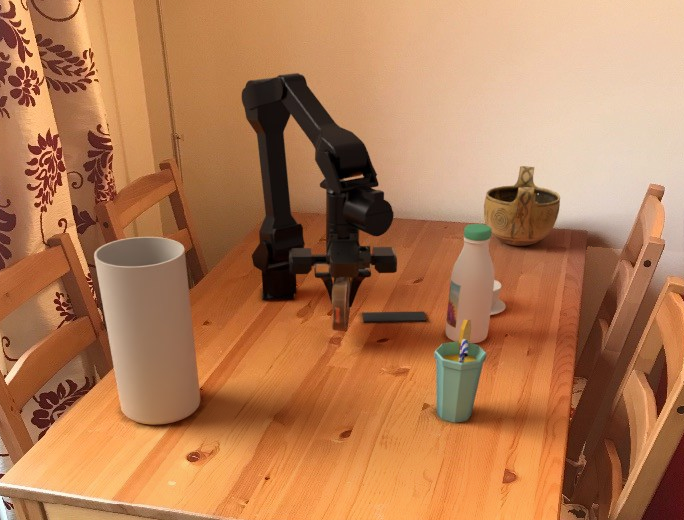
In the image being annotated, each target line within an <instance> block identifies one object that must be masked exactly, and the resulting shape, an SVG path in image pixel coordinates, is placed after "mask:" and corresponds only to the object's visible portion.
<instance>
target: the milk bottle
mask: <svg viewBox="0 0 684 520" xmlns="http://www.w3.org/2000/svg"><path fill="white" fill-rule="evenodd" d="M463 229H464V230H463V239H462V240H463V241H464V243H463V247H462V249H461V251H460V254H459V256H458V257H457V258H456V260H455V262H454V265H453V267H452V270H451V275H450V283H449V289H448V290H449V292H448V299H447V300H448V302H447V310H446V319H445V320H446V322H445V336H446V337H447V338H448V339H449V340H451V341H452V342H456V341H459V336H460V329H461V327H462V324H463V321H464V320H471V335H470V341H469V343H472V344H477V343H478V344H479V343H482V342H484V341H485V340H486V339H487V337H488V335H489V327H490V320H491V315H490V313H491V305H492V297H493V288H494V280H495V266H494V263H493V260H492V257H491V254H490V248H489V246H490V242H491V237H492V233H491V232H492V229H491V227H490V226H488V225H486V224H485V223H483V224H482V223H471V224H466V225H465V227H464V228H463Z"/></svg>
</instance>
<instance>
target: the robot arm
mask: <svg viewBox="0 0 684 520" xmlns="http://www.w3.org/2000/svg"><path fill="white" fill-rule="evenodd" d="M241 103H242V106H243V107H244V112H245V118H246V120H247V122H248V124H249V125H250V127H251V128H252V129H253V131H254V133H255V134H256V139H257V149H258V156H259V157H258V158H259V166H260V167H259V168H260V174H261V183H262V194H263V204H264V212H265V216H264V219H263V220H262V223H261V226H260V228H259V231H258V236H259V238H258V239H259V243H258V245H257V246H256V248H255V250H254V251H253V253H251V259H252V264H253V267H254V268H256V269H258V270H260V271H261V284H262V285H261V286H262V292H261V293H262V294H261V300H262V301H293V300H295V295H296V294H297V275H308V274H309V273H310V272H311V271H312V270H314V271H313V272H314V277H315V278H316V279H320V280H321V281H322V283H323V285H324V286H325V289H326V291H327V294H328V298H329V301H330V304H331V305H332V288H333V282H334V280H333V279H334V278H339V277H350V278H351V283H350V291H349V307H350V308H352V307H353V304H354V301H355V299H356V296H357V293H358V291H359V289H360V286H361V284H362V283H363V282H364V280H365V279H366V278H371V277H372V271H371V269H372V266H374V270H375V271H376V272H377V273H378V274H394V273H397V272H398V271H397V270H398V258H397V257H398V256H397V253H396V250H395V249H394V248H393V247H392V246H373V247H372V249H371V245H361V243H360V231H361V232H363V233H366V234H368V235H370V236H372V237H380V236H382V235H384V234H385V233H387V231H388V230H389V229H390V227H391V226H392V225H393V221H394V216H395V215H394V213H395V212H394V209H393V207H392V205H391V203H390V202H389V201H388V200H386V199H385V192H384V191H383V190H381V189H374V188H377V187H379V186H380V185H379V184H380V183H379V181H378V178H377V176H378V173H377V171H376V169H375V168H374V165H373V163H372V160H371V156H370V154H369V151H368V148H367V146H366V144H365V143H364V142H363V141H362V140H361V139H360V137H358V136H357V135H356V134H355V133H354V132H353V131H351V130H348V129H346V128H344V127H341V126H340V125H338V123H336V121H335V120H334V119H333V118H332V116H331V115H330V113H329V112H328V111H327V110H326V108H325V107H324V105H323V104H322V103H321V101H320V100H319V99H318V97H316V95H315V93H314V92H313V91H312V90H311V88H310V87H309V85H308V83H307V79H306V77H305V76H304V75H303V74H300V73H299V72H294V73H293V72H292V73H284V74H278V75H277V76H275V77H268V78H267V77H266V78H259V79H250V80H248V81H246V84H245V86H244V88H242V91H241ZM290 117H292V118H293V119H294V121H295V122H296V123H297V125H298V126H299V127H300V129H301V130H302V131H303V133H304V135H306V137H307V139H308V140H309V142H310V143H311V144H312V146H313V148H314V149H315V150H314V161H315V164H317V166H318V168H319V171H320V172H321V174H322V175H323V178H324V179H322V180H321V181H320V183H319V187H320V188H321V189H324V190H325V253H324V254H323V253H321V254H312V247H305V246H306V243H305V240H304V226H303V224H302V223H298V222H297V220H296V218H294V216H293V214H292V209H291V207H292V206H291V197H290V187H289V186H290V185H289V175H288V164H287V153H286V144H285V130H286V127H287V125H288V123H289V120H290ZM361 176H363V177H361ZM355 177H356V178H355ZM357 177H358V178H357ZM345 179H346V180H345ZM312 267H313V268H312Z"/></svg>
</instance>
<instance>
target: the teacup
mask: <svg viewBox="0 0 684 520" xmlns="http://www.w3.org/2000/svg"><path fill="white" fill-rule="evenodd" d="M502 287H503V286H502V283H501V282H500V281H498V280H496V279H494V288H493V297H492V305H491V313H490V316H491V315H497V314H499V313H502V312H503V311H504V310H505V309H506V307H507V306H506V303H505V302H504V301H502V300H501V299H499V298H500V295H501V291H502Z"/></svg>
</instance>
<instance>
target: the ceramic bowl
mask: <svg viewBox="0 0 684 520" xmlns="http://www.w3.org/2000/svg"><path fill="white" fill-rule="evenodd" d="M534 175H535V166H527V165H521V166H519V171H518V177H517V181H516V182H515V184H514V185H502V186H497V187H493V188H490V189H488V190H487V191H486V193H485V198H484V202H483V203H484V204H483V219H484V222H485V223H484V224H485V225H488V226H490V227H491V229H492V232H491V236H493V237H495V238H497V240H499V241H501V242H502V243H505V244H507V245H509V246H515V247H524V246H525V247H526V246H530V245H534V244H536V243H539V242H540V241H542V240H543V239H545V238H546V237H547V236H548V235H549V234H550V233H551V231H552V230H553V228H554V227H555V225H556V222H557V220H558V217H559V213H560V206H561V196H560V194H559V193H558V192H556V191H554V190H552V189H548V188H544V187H539V186H537V185H536V184H535V182H534Z"/></svg>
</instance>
